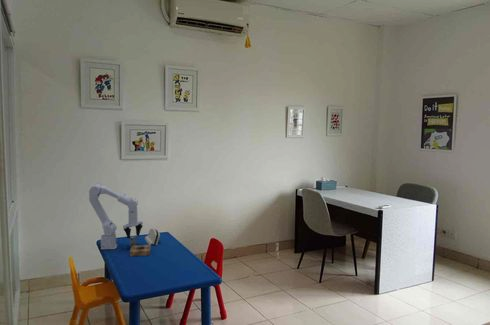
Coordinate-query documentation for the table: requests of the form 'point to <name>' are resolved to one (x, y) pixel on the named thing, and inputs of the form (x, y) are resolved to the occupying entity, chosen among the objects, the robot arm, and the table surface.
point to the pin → (133, 241)
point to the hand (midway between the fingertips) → (133, 236)
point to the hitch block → (140, 250)
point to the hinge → (152, 237)
